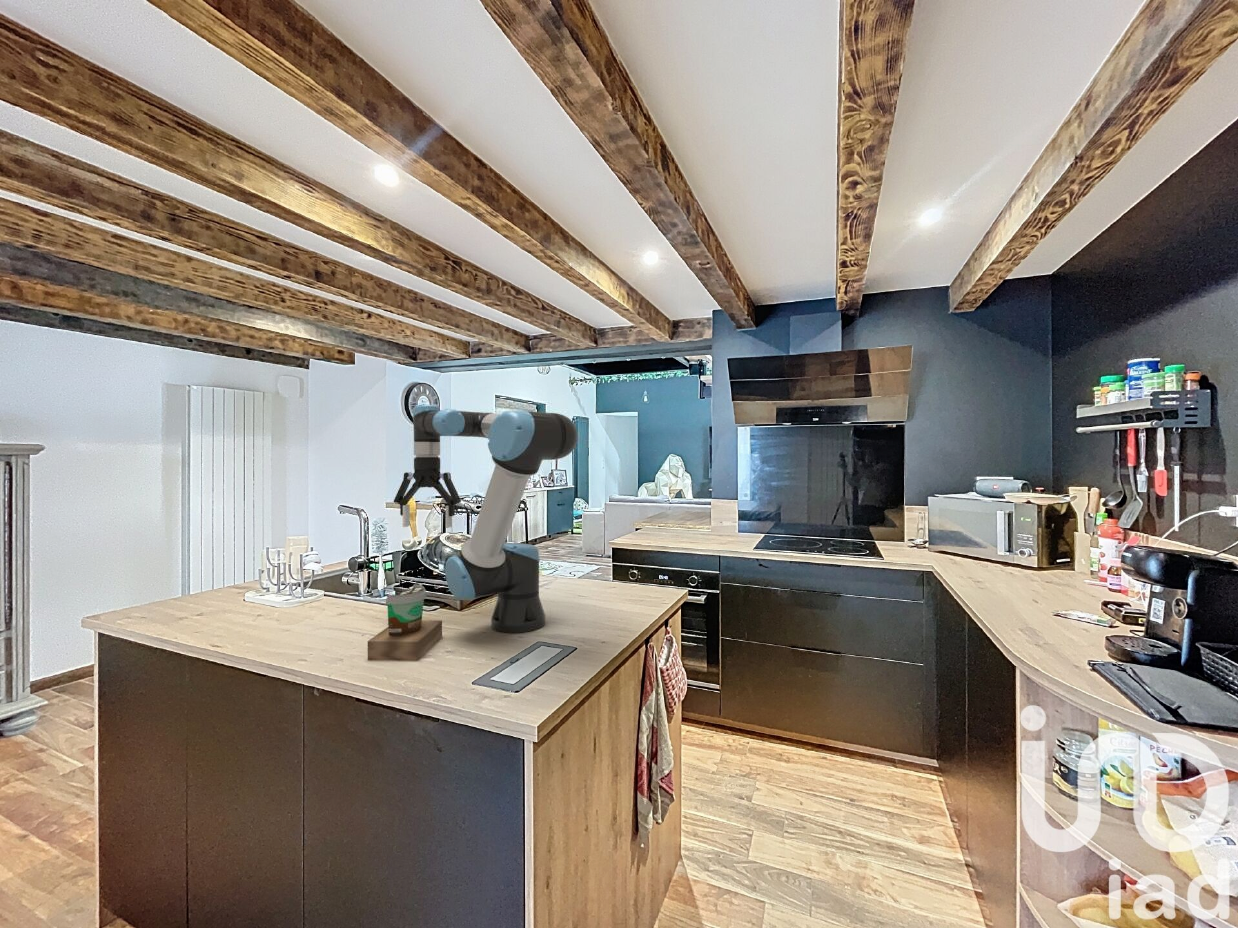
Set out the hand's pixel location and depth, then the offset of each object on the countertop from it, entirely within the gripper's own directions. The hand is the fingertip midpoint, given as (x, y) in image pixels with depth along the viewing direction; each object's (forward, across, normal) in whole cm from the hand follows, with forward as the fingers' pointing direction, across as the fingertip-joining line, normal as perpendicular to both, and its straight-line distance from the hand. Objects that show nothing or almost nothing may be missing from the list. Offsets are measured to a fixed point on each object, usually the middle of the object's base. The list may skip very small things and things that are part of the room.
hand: (427, 526), depth 159 cm
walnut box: (+27, -8, +26) cm, 39 cm away
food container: (+22, -9, +26) cm, 36 cm away
